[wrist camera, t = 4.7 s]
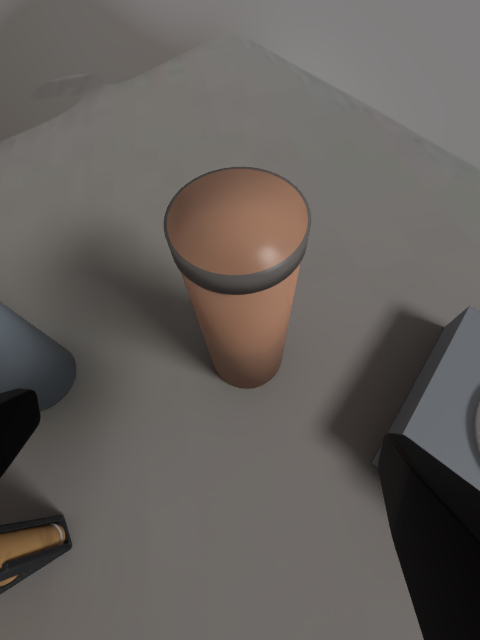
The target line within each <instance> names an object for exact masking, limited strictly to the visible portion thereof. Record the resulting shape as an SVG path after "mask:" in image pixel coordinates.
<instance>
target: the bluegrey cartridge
mask: <svg viewBox="0 0 480 640" xmlns="http://www.w3.org/2000/svg"><path fill="white" fill-rule="evenodd" d="M75 375H76V363H75V360H74V358H73V356H72V354H71V353H70V352H69V351H68V350H67V349H65V348H64V347H62V346H61V345H60V344H58V343H57V342H55V341H54V340H53V339H51V338H50V337H49V336H47V335H46V334H44V333H43V332H42V331H40V330H39V329H37V328H36V327H35V326H33V325H32V324H30V323H29V322H28V321H26V320H25V319H24V318H22V317H21V316H19V315H18V314H17V313H15V312H14V311H12V310H11V309H10V308H8V307H7V306H6V305H4V304H3V303H1V302H0V393H3V392H6V391H10V390H13V389H17V388H23V389H31V390H34V391H35V392H36V393H37V397H38V403H39V409H40V411H42V410H45V409H48V408H50V407H52V406H53V405H55V404H56V403H58V402H59V401H60V400H61V399H62V398H63V397H64V396H65V395H66V394H67V393H68V391H69V390H70V388H71V386H72V384H73V382H74V379H75Z"/></svg>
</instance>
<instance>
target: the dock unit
mask: <svg viewBox="0 0 480 640" xmlns="http://www.w3.org/2000/svg"><path fill="white" fill-rule="evenodd" d="M388 433H396V434H403V435H405V436H407V437H408V438H410V439H411V440H412V441H414V442H415V443H416V444H418V445H419V446H420V447H422V448H423V449H424V450H426V451H427V452H428V453H430V454H431V455H432V456H434V457H435V458H436V459H438V460H439V461H441V462H442V463H443V464H445V465H446V466H447V467H449V468H450V469H451V470H453V471H454V472H455V473H457V474H458V475H459V476H461V477H462V478H463V479H465V480H466V481H467V482H469V483H470V484H471V485H473V486H474V487H475V488H477V489H478V490H479V491H480V311H479V310H477V309H475V308H473V307H471V306H469V307H468V308H467V309H465V310H464V311H463V312H462V313H461V314H460V315H458V316H457V317H456V318H455V319H454V320H453V321H451V322H450V323H449V324H448V325H447V326H446V327H445V328H444V330H443V332H442V333H441V335H440V337H439V339H438V341H437V343H436V344H435V346H434V348H433V350H432V352H431V354H430V356H429V357H428V359H427V361H426V363H425V365H424V367H423V368H422V370H421V372H420V374H419V376H418V378H417V380H416V381H415V383H414V385H413V387H412V389H411V391H410V392H409V394H408V396H407V398H406V400H405V402H404V404H403V405H402V407H401V409H400V411H399V413H398V415H397V416H396V418H395V420H394V422H393V424H392V426H391V428H390V429H389V431H388ZM382 443H383V442H382ZM381 447H382V444H381V446H380V448H379V450H378V452H377V453H376V455H375V457H374V459H373V461H372V463H371V464H372V465H374V466H375V467H377V468H378V460H379V456H380V451H381Z"/></svg>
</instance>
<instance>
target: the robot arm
mask: <svg viewBox="0 0 480 640" xmlns="http://www.w3.org/2000/svg"><path fill="white" fill-rule="evenodd" d="M40 417H41V416H40V409H39V403H38V397H37V393H36V392H35V391H34V390H31V389H23V388H17V389H13V390H10V391H6V392H3V393H0V478H1V477H2V475H3V474H4V473H5V471H6V470H7V469H8V467H9V466H10V464H11V463H12V462H13V460H14V459H15V457H16V456H17V455H18V453H19V452H20V450H21V449H22V448H23V446H24V445H25V443H26V442H27V441H28V439H29V438H30V436H31V435H32V433H33V432H34V431H35V429H36V428H37V426H38V425H39V422H40ZM378 471H379V476H380V481H381V486H382V491H383V496H384V501H385V506H386V511H387V516H388V521H389V526H390V530H391V534H392V538H393V542H394V545H395V549H396V552H397V555H398V558H399V561H400V565H401V568H402V571H403V574H404V577H405V581H406V584H407V587H408V590H409V593H410V597H411V600H412V603H413V606H414V609H415V613H416V616H417V619H418V622H419V625H420V629H421V632H422V635H423V638H424V640H480V491H479V490H478V489H477V488H475V487H474V486H473V485H471V484H470V483H469V482H467V481H466V480H465V479H463V478H462V477H461V476H459V475H458V474H457V473H455V472H454V471H453V470H451V469H450V468H449V467H447V466H446V465H445V464H443V463H442V462H441V461H439V460H438V459H436V458H435V457H434V456H432V455H431V454H430V453H428V452H427V451H426V450H424V449H423V448H422V447H420V446H419V445H418V444H416V443H415V442H414V441H412V440H411V439H410V438H408V437H407V436H405V435H403V434H396V433H387V434H385V436H384V439H383V443H382V447H381V451H380V456H379V460H378Z"/></svg>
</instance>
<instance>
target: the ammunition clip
mask: <svg viewBox="0 0 480 640" xmlns="http://www.w3.org/2000/svg"><path fill="white" fill-rule="evenodd" d="M71 547H72V543H71V539H70V536H69V532H68V529H67V526H66V522H65V519H64V515H60V516H54V517H48V518H42V519H36V520H30V521H24V522H18V523H12V524H6V525H0V594H2V593H3V592H5V591H6V590H8V589H9V588H11V587H13V586H14V585H16V584H17V583H19V582H20V581H22V580H23V579H25V578H27V577H28V576H30V575H31V574H33V573H34V572H36V571H37V570H39V569H41V568H42V567H44V566H45V565H47V564H48V563H50V562H51V561H53V560H55V559H56V558H58V557H59V556H61V555H62V554H64V553H65V552H67V551H69V550H70V549H71Z"/></svg>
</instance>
